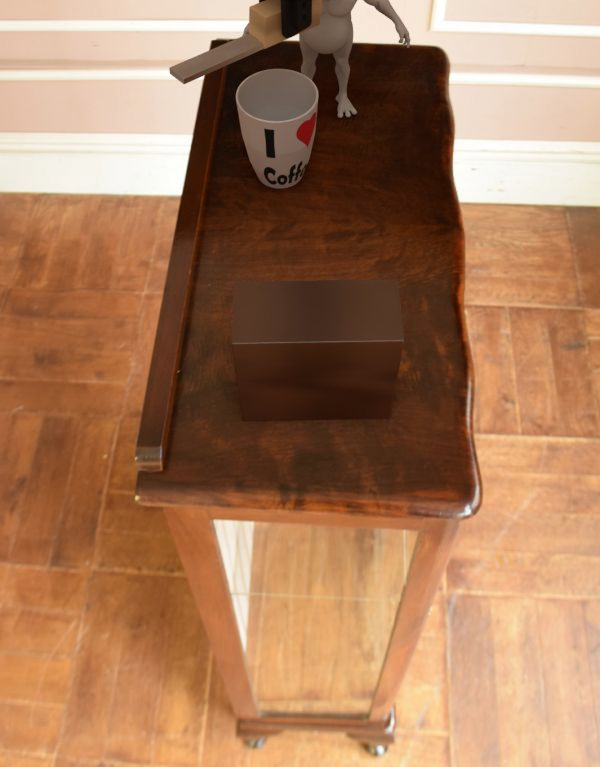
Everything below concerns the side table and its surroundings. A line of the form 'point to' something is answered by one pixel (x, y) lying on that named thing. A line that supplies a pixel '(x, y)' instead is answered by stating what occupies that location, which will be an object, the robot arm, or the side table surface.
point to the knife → (243, 41)
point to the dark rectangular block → (317, 348)
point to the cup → (278, 124)
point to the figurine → (339, 42)
